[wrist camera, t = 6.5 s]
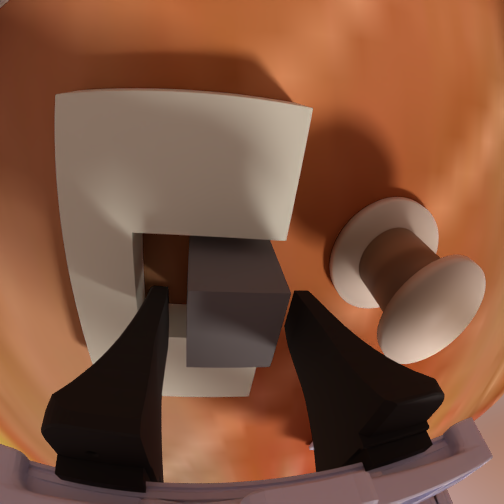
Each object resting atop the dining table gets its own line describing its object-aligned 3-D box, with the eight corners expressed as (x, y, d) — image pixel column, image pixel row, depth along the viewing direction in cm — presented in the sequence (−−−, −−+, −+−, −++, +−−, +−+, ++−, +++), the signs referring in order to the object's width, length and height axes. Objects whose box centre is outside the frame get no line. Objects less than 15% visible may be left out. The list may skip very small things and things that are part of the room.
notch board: (243, 365, 20) (248, 396, 18) (107, 360, 18) (101, 390, 16) (293, 102, 12) (312, 108, 10) (79, 90, 10) (55, 94, 8)
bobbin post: (407, 300, 19) (450, 359, 15) (315, 302, 18) (349, 378, 13) (447, 205, 16) (511, 255, 11) (349, 188, 15) (413, 246, 10)
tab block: (252, 294, 17) (269, 366, 13) (187, 292, 16) (186, 367, 12) (264, 227, 15) (290, 293, 11) (190, 223, 14) (187, 290, 10)
